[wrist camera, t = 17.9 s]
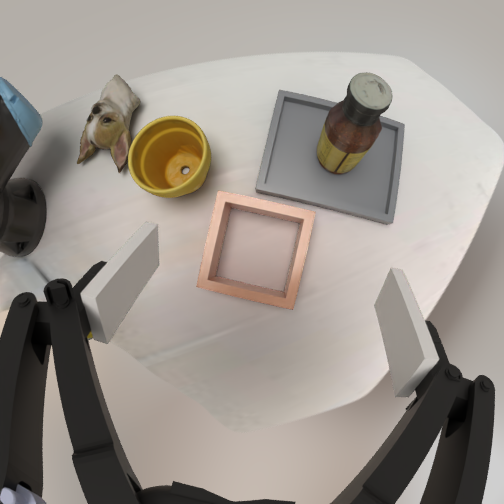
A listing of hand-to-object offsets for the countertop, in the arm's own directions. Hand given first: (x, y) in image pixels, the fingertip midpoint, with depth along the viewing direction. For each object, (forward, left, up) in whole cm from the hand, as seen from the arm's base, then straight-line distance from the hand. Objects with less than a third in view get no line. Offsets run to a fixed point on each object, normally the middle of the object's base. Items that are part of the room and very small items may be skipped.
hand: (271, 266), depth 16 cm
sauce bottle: (+6, +16, -26) cm, 31 cm away
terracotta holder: (-2, +1, -27) cm, 27 cm away
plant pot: (-15, +10, -27) cm, 33 cm away
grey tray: (+6, +17, -27) cm, 32 cm away
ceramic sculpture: (-29, +15, -27) cm, 43 cm away
